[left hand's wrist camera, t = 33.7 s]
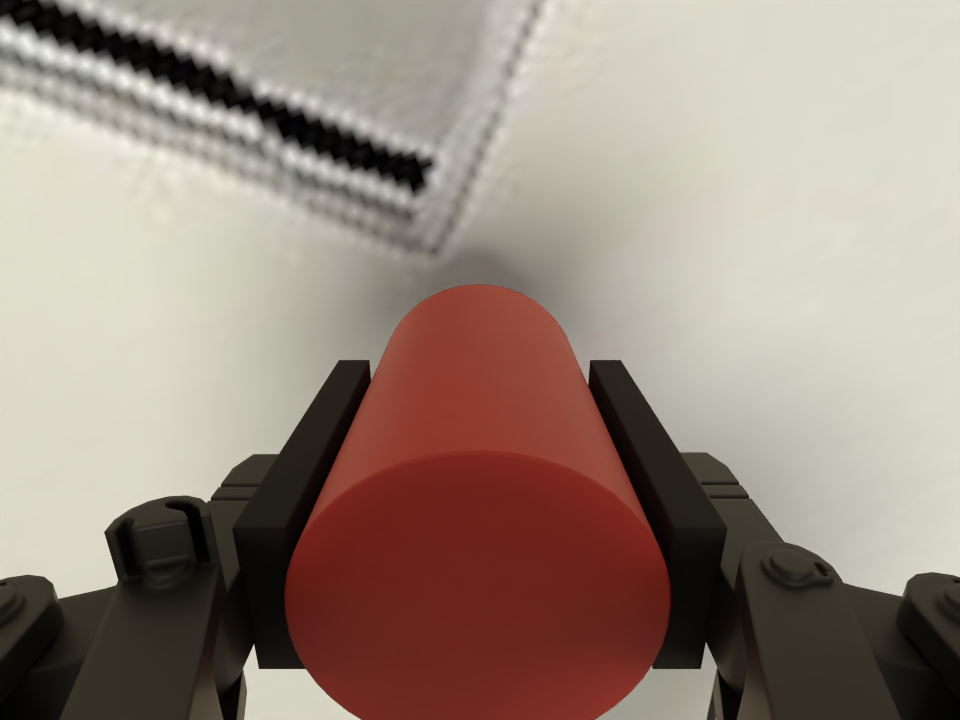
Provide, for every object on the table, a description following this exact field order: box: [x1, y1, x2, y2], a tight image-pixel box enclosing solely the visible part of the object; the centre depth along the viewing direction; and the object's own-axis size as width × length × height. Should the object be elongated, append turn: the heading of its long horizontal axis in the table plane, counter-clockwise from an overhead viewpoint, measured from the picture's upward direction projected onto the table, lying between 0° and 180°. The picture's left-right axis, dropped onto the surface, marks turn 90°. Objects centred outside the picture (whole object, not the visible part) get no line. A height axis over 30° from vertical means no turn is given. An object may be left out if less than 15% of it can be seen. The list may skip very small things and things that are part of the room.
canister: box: [284, 285, 671, 720], centre depth 12 cm, size 6×6×9 cm
